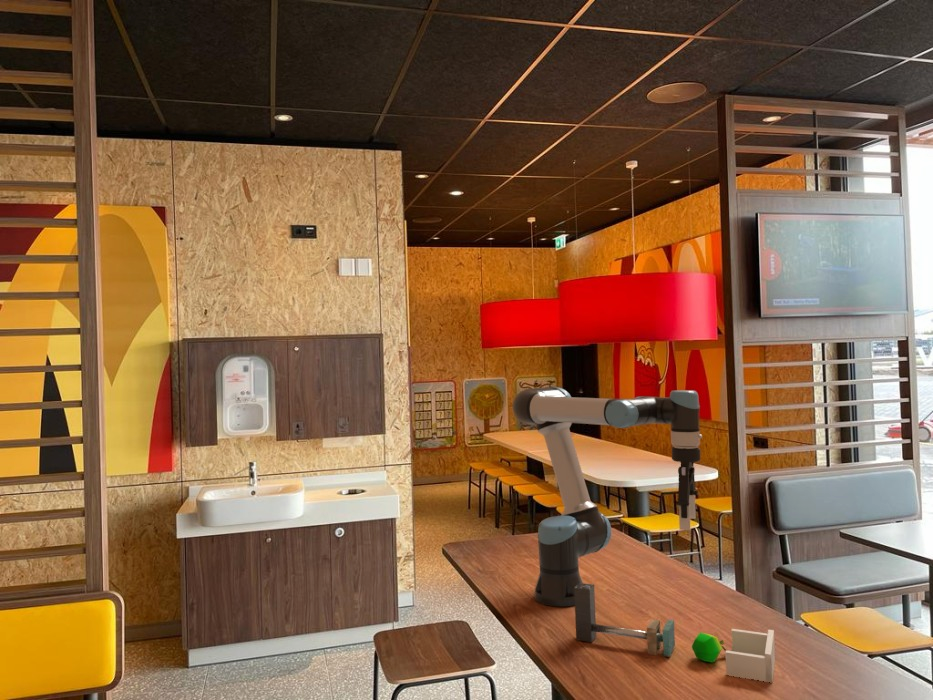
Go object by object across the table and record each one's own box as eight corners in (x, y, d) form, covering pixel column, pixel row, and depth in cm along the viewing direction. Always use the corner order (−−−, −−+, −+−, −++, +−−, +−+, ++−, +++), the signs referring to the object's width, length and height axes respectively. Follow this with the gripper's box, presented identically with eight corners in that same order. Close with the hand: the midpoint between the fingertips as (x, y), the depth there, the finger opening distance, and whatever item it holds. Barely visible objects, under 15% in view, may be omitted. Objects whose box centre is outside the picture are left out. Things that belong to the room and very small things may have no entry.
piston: (574, 642, 166) (572, 589, 166) (582, 631, 172) (580, 581, 172) (669, 657, 155) (667, 601, 155) (675, 646, 161) (672, 592, 162)
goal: (726, 675, 146) (725, 647, 146) (732, 649, 159) (731, 624, 159) (772, 683, 142) (770, 654, 142) (775, 656, 155) (773, 630, 155)
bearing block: (647, 653, 158) (646, 627, 158) (652, 644, 163) (651, 619, 163) (656, 655, 157) (655, 628, 157) (661, 646, 162) (660, 620, 162)
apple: (696, 631, 152) (722, 622, 157) (681, 642, 156) (706, 633, 161) (714, 662, 148) (740, 651, 153) (698, 673, 152) (724, 662, 157)
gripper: (695, 453, 170) (697, 536, 169) (704, 441, 192) (706, 514, 192) (665, 452, 173) (667, 533, 172) (677, 440, 196) (679, 512, 195)
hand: (687, 523), depth 182 cm, fingers open, 13 cm apart
